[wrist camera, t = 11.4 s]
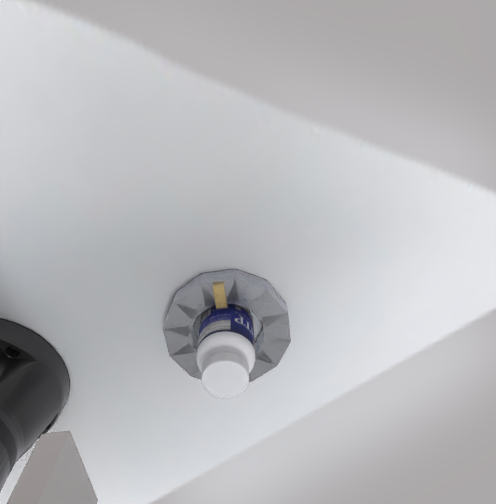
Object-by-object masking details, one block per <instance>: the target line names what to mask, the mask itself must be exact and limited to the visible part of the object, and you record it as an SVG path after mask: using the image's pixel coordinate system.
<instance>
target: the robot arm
mask: <svg viewBox="0 0 496 504" xmlns="http://www.w3.org/2000/svg"><path fill="white" fill-rule="evenodd" d="M69 389H70V383H69V376H68V372H67V369H66V367H65V365H64V363H63V361H62V359H61V358H60V356H59V355H58V353H57V352H56V351H55V350H54V349H53V348H52V347H51V346H50V345H49V344H48V343H47V342H46V341H45V340H44V339H42V338H41V337H40V336H38V335H37V334H35V333H34V332H32V331H30V330H28V329H27V328H24V327H22V326H20V325H18V324H15V323H12V322H9V321H5V320H1V319H0V491H1V489H2V487H3V485H4V483H5V481H6V479H7V477H8V475H9V474H10V472H11V470H12V468H13V466H14V464H15V462H16V461H17V460H18V459H19V458H20V457H21V456H22V455H24V454H25V453H26V452H27V451H28V450H29V449H30V447H31V446H32V445H33V444H34V443H35V442H36V440H37V439H38V438H39V440H38V442H37V444H36V446H35V448H34V450H33V452H32V454H31V456H30V458H29V460H28V462H27V464H26V466H25V468H24V470H23V472H22V474H21V476H20V478H19V480H18V482H17V484H16V486H15V488H14V490H13V492H12V494H11V496H10V498H9V500H8V502H7V504H97V501H98V499H97V497H96V494H95V492H94V489H93V487H92V484H91V482H90V479H89V477H88V474H87V472H86V469H85V467H84V464H83V462H82V459H81V457H80V455H79V452H78V450H77V447H76V445H75V442H74V440H73V437H72V435H71V432H70V431H63V432H55V433H46V432H47V431H48V430H49V429H50V428H51V427H52V426H53V425H54V424H55V422H56V421H57V419H58V418H59V416H60V414H61V412H62V410H63V408H64V405H65V403H66V401H67V399H68V395H69ZM45 433H46V434H45Z"/></svg>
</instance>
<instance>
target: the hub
mask: <svg viewBox="0 0 496 504" xmlns="http://www.w3.org/2000/svg"><path fill="white" fill-rule="evenodd" d="M230 303H233V304H236V305H239V306H242V307H245V308H248V309H251V310H252V312H253V313H254V314H255V315H256V316H257V317H258V318H259V319H260V320H261V322H262V323H263V329H262V331H261V333H260V334H259V336H258V338H257V340H256V342H255V363H254V366H253V369H252V370H251V372H250V373H249V382H251V381H253V380H255V379H256V378H258V377H260V376H261V375H263V374H265V373H266V372H268V371H269V370H271V369H273V368H274V367H276V366H277V365H278V363H279V362H280V360H281V358H282V356H283V354H284V352H285V351H286V349H287V347H288V345H289V343H290V342H291V339H290V330H289V320H288V312H287V307H286V303H285V301H284V300H283V299H282V298H281V297H280V296H279V294H278V293H277V292H276V291H275V290H274V288H273V287H272V286H271V285H270V284H269V283H268V281H267V280H265V279H262V278H259V277H256V276H254V275H251V274H248V273H245V272H242V271H240V270H237V269H232V270H224V271H216V272H208V273H202V274H200V275H199V276H198V277H196V278H195V279H193V280H192V281H191V282H189V283H188V284H186V285H185V286H183V287H182V288H181V289H179V290H178V291H177V292H176V294H175V296H174V299H173V301H172V304H171V306H170V309H169V311H168V314H167V316H166V320H165V324H164V328H163V331H164V335H165V339H166V343H167V347H168V351H169V355H170V357H171V358H172V359H173V360H174V361H176V362H177V363H178V364H179V365H180V366H181V367H182V368H183V369H184V370H185V371H186V372H187V373H188V374H189V375H190V376H192V377H195V378H199V379H201V371H200V370H199V367H198V365H197V359H196V355H197V346H198V338H197V337H196V336H195V332H194V327H193V324H194V322H195V319H196V317H197V316H198V315H199V314H201V313H202V312H204V311H205V310H207V309H208V308H210V307H211V306H214V305H216V309H219V308H227V304H230Z"/></svg>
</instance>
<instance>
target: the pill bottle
mask: <svg viewBox="0 0 496 504" xmlns="http://www.w3.org/2000/svg"><path fill="white" fill-rule="evenodd" d="M196 359H197V365H198V367H199V370H200V371H201V381H202V385H203V387H204V389H205V390H206V391H207V392H208V393H209V394H211V395H213V396H215V397H218V398H232V397H235V396H237V395H239V394H241V393H242V392H243V391H244V390H245V389H246V388H247V386H248V383H249V373H250V372H251V370H252V369H253V366H254V363H255V342H254V330H253V319H252V316H251V313H250V312H249V310H248V309H247V308H245V307H242V306H239V305H236V304H233V303H230V304H227V308H219V309H216V305H214V306H211V307H210V308H208V309H207V310H205V311H204V312H203V314H202V317H201V322H200V330H199V339H198V346H197V355H196Z"/></svg>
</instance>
